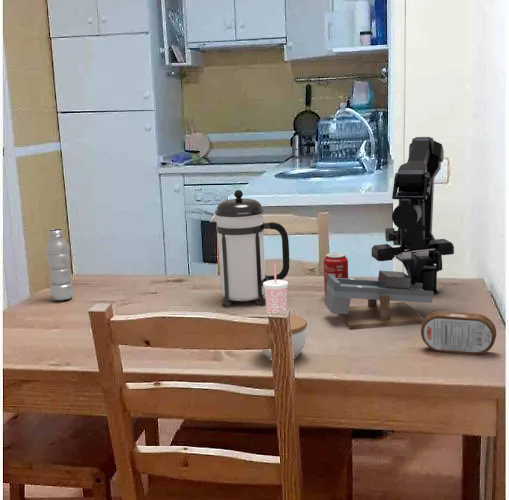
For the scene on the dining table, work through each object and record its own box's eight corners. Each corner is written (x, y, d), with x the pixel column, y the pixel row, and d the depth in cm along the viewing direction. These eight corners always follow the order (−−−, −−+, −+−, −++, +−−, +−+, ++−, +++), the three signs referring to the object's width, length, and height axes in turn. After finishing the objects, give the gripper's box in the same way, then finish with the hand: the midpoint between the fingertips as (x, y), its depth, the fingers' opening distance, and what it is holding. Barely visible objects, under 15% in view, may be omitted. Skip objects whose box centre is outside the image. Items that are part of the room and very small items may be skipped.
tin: (495, 352, 146) (497, 313, 144) (495, 357, 143) (496, 318, 141) (421, 346, 151) (421, 308, 149) (419, 351, 148) (419, 313, 146)
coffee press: (243, 313, 179) (237, 196, 172) (205, 301, 191) (198, 191, 184) (292, 298, 190) (288, 187, 183) (253, 288, 202) (248, 183, 195)
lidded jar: (269, 370, 142) (267, 325, 140) (248, 353, 151) (246, 311, 149) (316, 360, 146) (315, 317, 144) (293, 344, 156) (292, 303, 153)
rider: (400, 287, 173) (402, 272, 172) (408, 294, 168) (410, 277, 167) (377, 286, 172) (379, 270, 171) (384, 292, 167) (386, 276, 166)
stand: (404, 305, 179) (404, 279, 177) (424, 323, 165) (424, 294, 164) (335, 311, 177) (334, 284, 175) (349, 329, 163) (349, 300, 162)
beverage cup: (261, 320, 172) (258, 265, 169) (269, 313, 178) (266, 259, 175) (285, 322, 170) (282, 266, 167) (292, 314, 176) (290, 260, 173)
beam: (417, 308, 177) (421, 279, 175) (430, 319, 168) (434, 289, 167) (323, 303, 173) (327, 273, 172) (332, 314, 165) (336, 283, 163)
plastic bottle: (46, 302, 197) (37, 232, 193) (61, 295, 203) (53, 227, 199) (65, 303, 195) (57, 232, 190) (79, 297, 201) (72, 228, 196)
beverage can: (348, 294, 191) (347, 251, 188) (348, 301, 184) (348, 257, 182) (324, 295, 191) (323, 252, 189) (324, 302, 185) (323, 257, 183)
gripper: (436, 212, 176) (436, 272, 179) (364, 218, 174) (365, 279, 177) (455, 219, 165) (455, 284, 169) (377, 226, 163) (379, 291, 166)
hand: (412, 284), depth 170 cm, fingers closed
